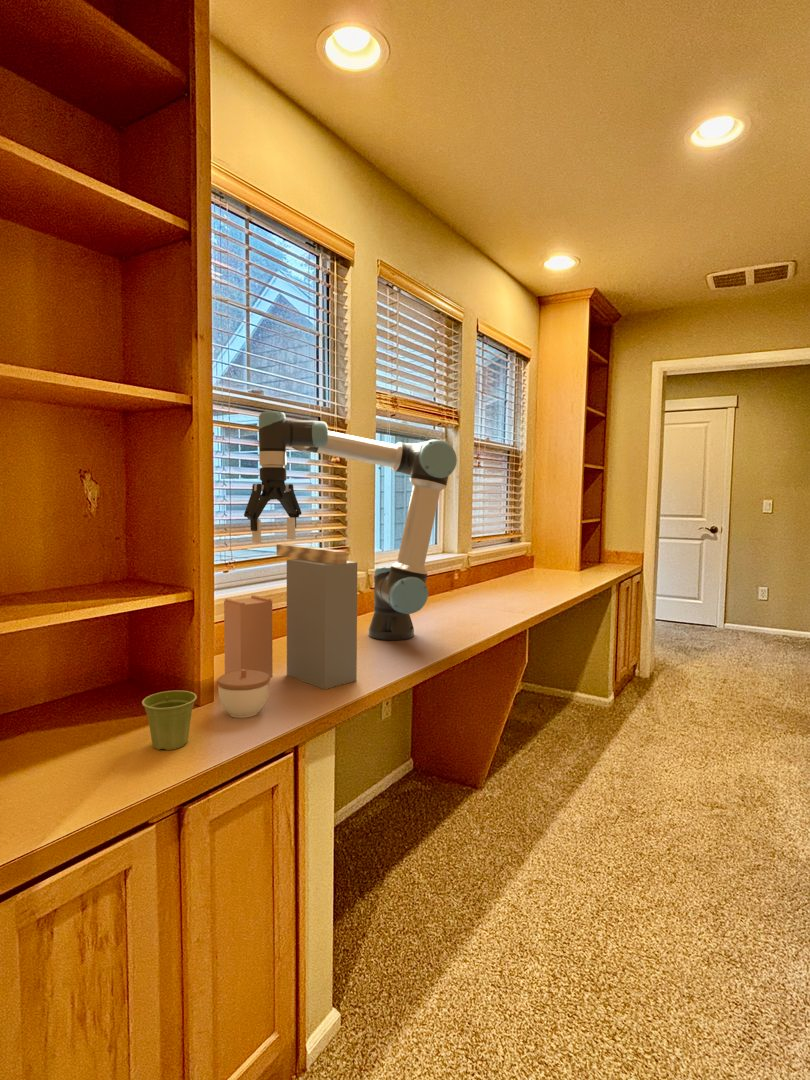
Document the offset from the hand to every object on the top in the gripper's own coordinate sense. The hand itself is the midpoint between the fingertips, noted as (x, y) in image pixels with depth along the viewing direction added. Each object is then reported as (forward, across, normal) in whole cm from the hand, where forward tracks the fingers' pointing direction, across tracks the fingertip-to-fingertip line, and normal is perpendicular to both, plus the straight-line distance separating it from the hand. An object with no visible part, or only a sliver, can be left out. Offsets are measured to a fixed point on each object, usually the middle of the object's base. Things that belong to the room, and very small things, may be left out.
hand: (274, 541), depth 172 cm
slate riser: (+33, +10, +26) cm, 43 cm away
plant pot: (+33, +57, +30) cm, 72 cm away
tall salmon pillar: (+33, +20, +10) cm, 40 cm away
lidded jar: (+33, +38, +29) cm, 58 cm away
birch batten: (+3, +9, +22) cm, 23 cm away
